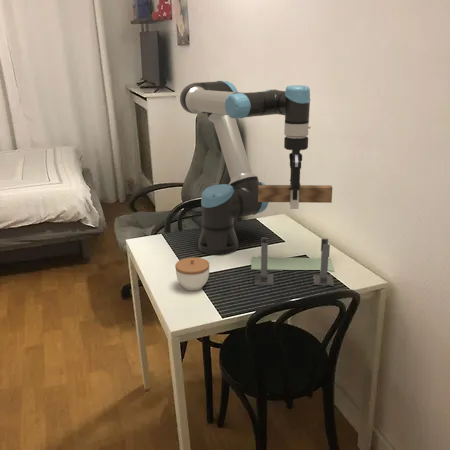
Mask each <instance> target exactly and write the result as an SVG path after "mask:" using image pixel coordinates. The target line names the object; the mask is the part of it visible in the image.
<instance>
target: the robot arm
mask: <svg viewBox="0 0 450 450" xmlns="http://www.w3.org/2000/svg"><path fill="white" fill-rule="evenodd" d="M179 102H180V105H181V108H182V109H183V110H185V112H187V113H190V114H193V115H200V114H201V115H202V114H203V115H205V114H206V116H207V118H208V121H209V122H212V123H213V125H214V128H215V132H216V135H217V138H218V142H219V146H220V149H221V152H222V155H223V158H224V162H225V165H226V168H227V172H228V175H229V178H230V182H229V183H228V184H225V183H221V184H218V183H217V184H215V185H210V186H208V187H206V188H205V189H204V190H203V191H202V193H201V200H200V205H201V218H202V219H201V227H202V229H201V232H200V236H199V238H198V244H197V245H198V250H199V251H200V252H202V253H204V254H207V255H210V256H211V255H212V256H223V255H229V254H233V253H234V252H236V251H237V250H238V248H239V239H238V237H237V234H236V231H235V228H234V224H235V223H234V220H236V219H238V218H243V217H248V216H253V215H255V216H256V214H261V213H263V212H264V211H265V210H267V208H268V205H269V203H270V202H258V185H266V184H265V183H264V182H262V181H259V178H258V176H257V175H256V174H253V172H252V168H251V164H250V163H249V159H248V156H247V152H246V149H245V146H244V142H243V139H242V136H241V135H242V134H241V133H240V130H239V127H238V124H237V119H245V118H251V117H262V116H272V115H273V116H274V115H280V116H284V133H283V134H284V136H285V137H284V140H283V142H284V144H283V146H284V147H283V148H284V149H285V150H288V151H291V152H290V153H288V154H289V155H288V157H289V168H290V179H289V182H290V183H289V185H291V188H289V190H291V196H290V202H289V209H291V210H299V208H300V207H299V204H300V202H299V189H300V185H301V169H302V161H303V154H302V153H301V151H305V150H307V149H308V148H309V137H308V136H309V129H311V125H310V123H309V122H310V107H311V106H310V105H311V89H310V87H309V86H307V85H295V84H294V85H293V84H292V85H287V86H286V87H285V90H279V89H266V90H262V91H253V92H250V91H249V92H242V91H241V92H239V90H238V89H237V87H236V86H235V85H234V84H233V82H230V81H228V80H227V81H225V80H224V81H223V80H217V81H205V82H193V83H190V84H188V85H186V86H185V87H184V88H183V89H182V91H181V92H180V95H179Z"/></svg>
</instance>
